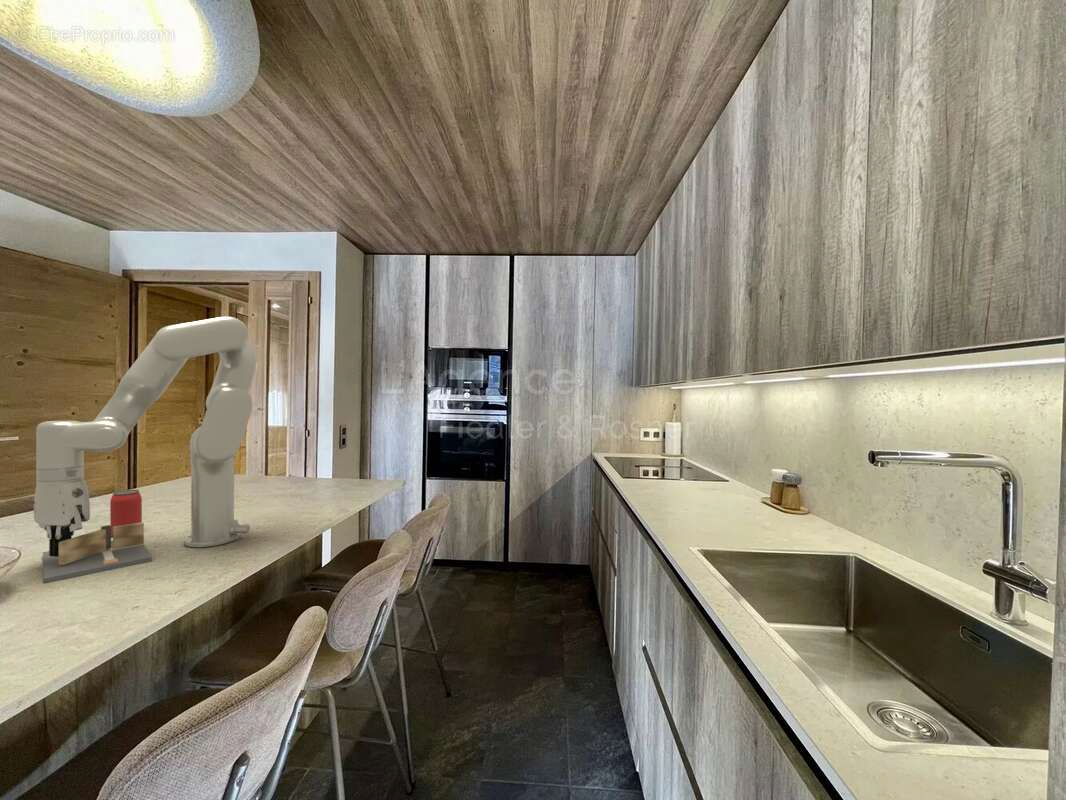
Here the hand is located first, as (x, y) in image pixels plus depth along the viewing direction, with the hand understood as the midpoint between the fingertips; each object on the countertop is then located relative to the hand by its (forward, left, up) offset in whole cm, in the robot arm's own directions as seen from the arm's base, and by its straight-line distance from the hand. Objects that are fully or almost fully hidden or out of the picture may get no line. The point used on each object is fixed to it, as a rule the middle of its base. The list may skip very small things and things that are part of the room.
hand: (60, 554), depth 104 cm
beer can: (+1, -24, -3) cm, 24 cm away
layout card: (-5, -4, -3) cm, 7 cm away
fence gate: (-4, -2, -1) cm, 4 cm away
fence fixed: (-8, -9, -2) cm, 12 cm away
